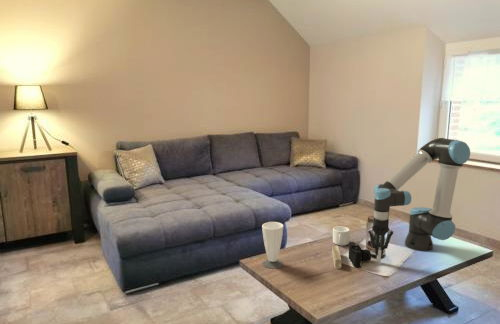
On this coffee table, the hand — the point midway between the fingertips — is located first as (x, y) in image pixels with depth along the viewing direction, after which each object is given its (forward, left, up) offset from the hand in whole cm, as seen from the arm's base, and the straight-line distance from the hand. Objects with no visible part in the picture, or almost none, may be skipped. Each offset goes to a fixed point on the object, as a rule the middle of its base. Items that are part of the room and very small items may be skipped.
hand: (378, 260), depth 198 cm
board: (+22, 0, -2) cm, 22 cm away
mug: (+17, -24, -2) cm, 29 cm away
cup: (+56, +7, -2) cm, 56 cm away
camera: (+10, 0, -2) cm, 10 cm away
